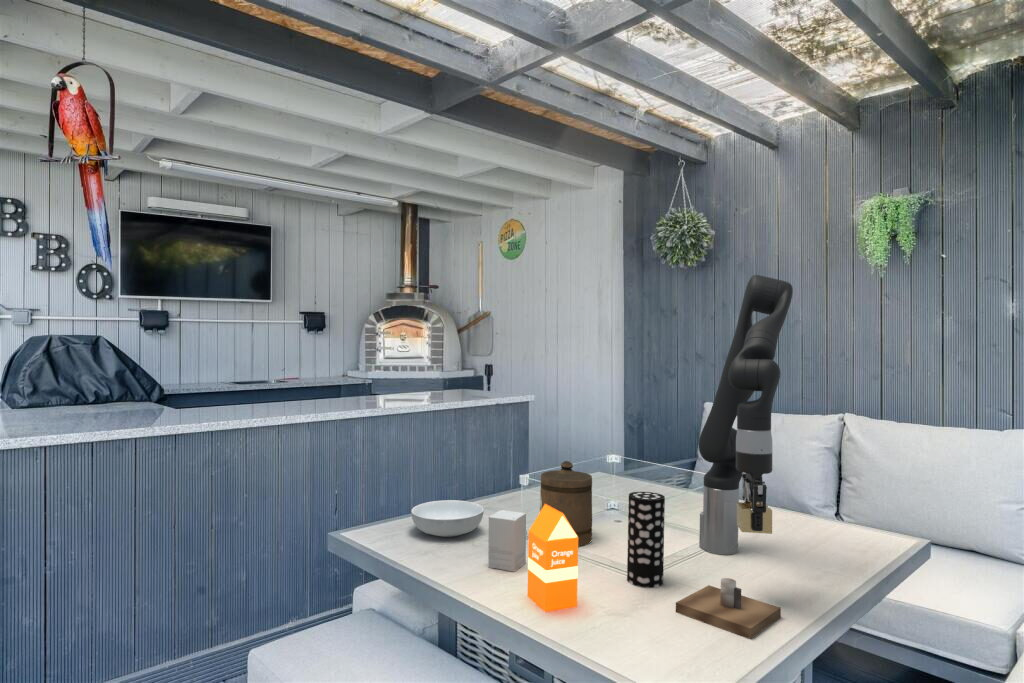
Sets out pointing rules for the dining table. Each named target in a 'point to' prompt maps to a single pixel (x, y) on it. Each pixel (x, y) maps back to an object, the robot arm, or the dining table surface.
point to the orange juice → (552, 561)
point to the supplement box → (507, 540)
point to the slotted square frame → (745, 518)
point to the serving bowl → (447, 517)
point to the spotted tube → (645, 539)
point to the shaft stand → (729, 609)
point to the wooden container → (570, 498)
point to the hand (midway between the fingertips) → (753, 526)
